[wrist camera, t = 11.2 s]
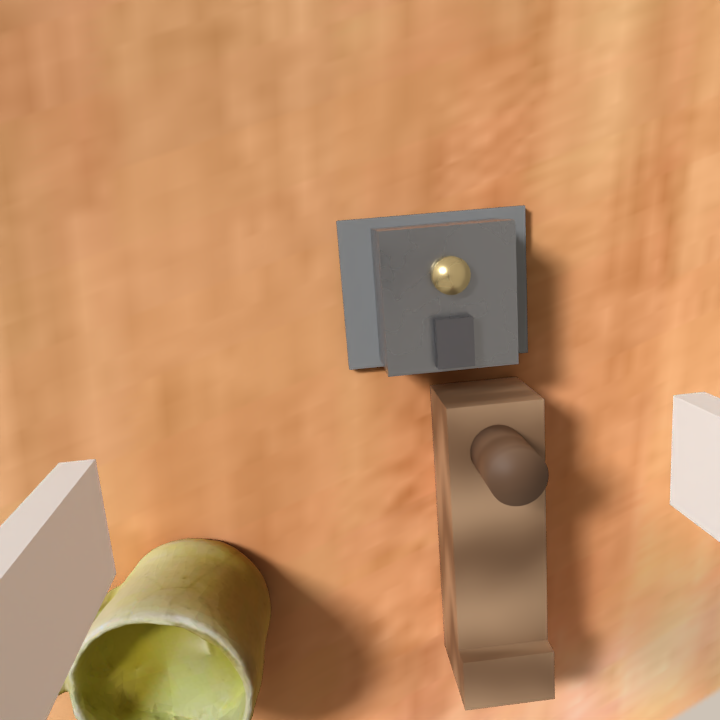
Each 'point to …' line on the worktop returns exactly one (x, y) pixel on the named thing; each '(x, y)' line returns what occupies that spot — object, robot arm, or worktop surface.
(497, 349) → the lever cap
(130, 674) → the mug
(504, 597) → the plane body
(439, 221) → the mat
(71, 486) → the robot arm
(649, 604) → the worktop surface
